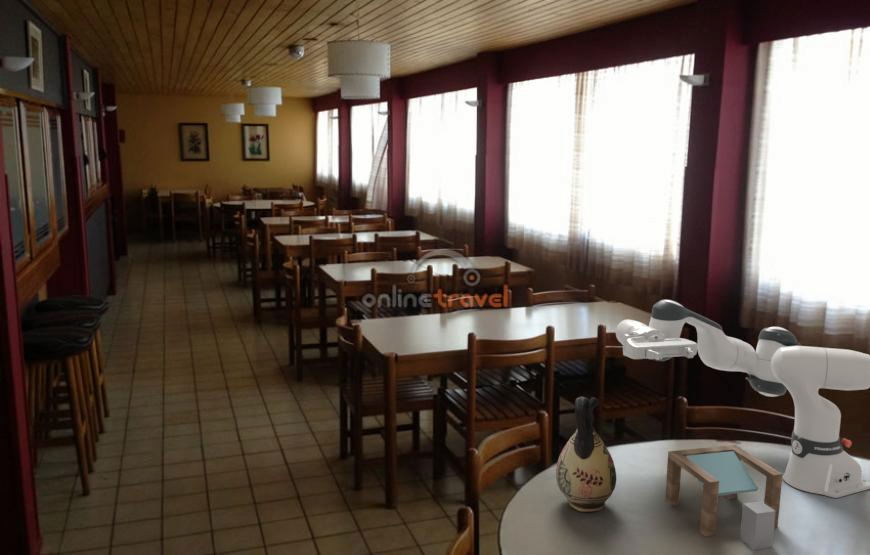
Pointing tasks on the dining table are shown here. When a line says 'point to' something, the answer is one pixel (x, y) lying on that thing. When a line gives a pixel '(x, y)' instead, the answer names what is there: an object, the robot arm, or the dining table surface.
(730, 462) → the trapdoor
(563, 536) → the dining table surface
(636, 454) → the dining table surface
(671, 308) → the robot arm
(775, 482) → the trapdoor frame
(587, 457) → the ceramic jug
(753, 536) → the light grey block
